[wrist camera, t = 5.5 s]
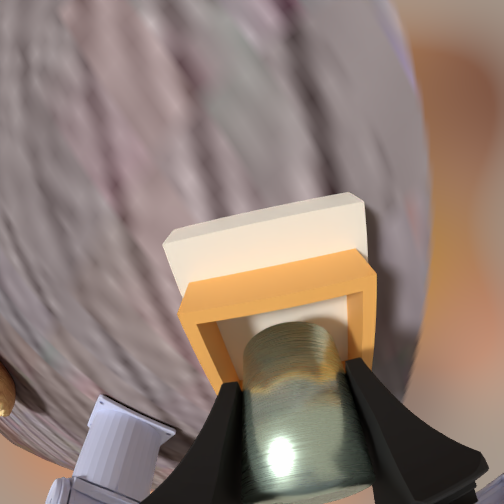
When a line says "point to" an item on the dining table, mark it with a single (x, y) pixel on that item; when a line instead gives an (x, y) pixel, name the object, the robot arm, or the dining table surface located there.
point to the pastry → (6, 392)
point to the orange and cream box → (275, 279)
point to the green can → (299, 420)
